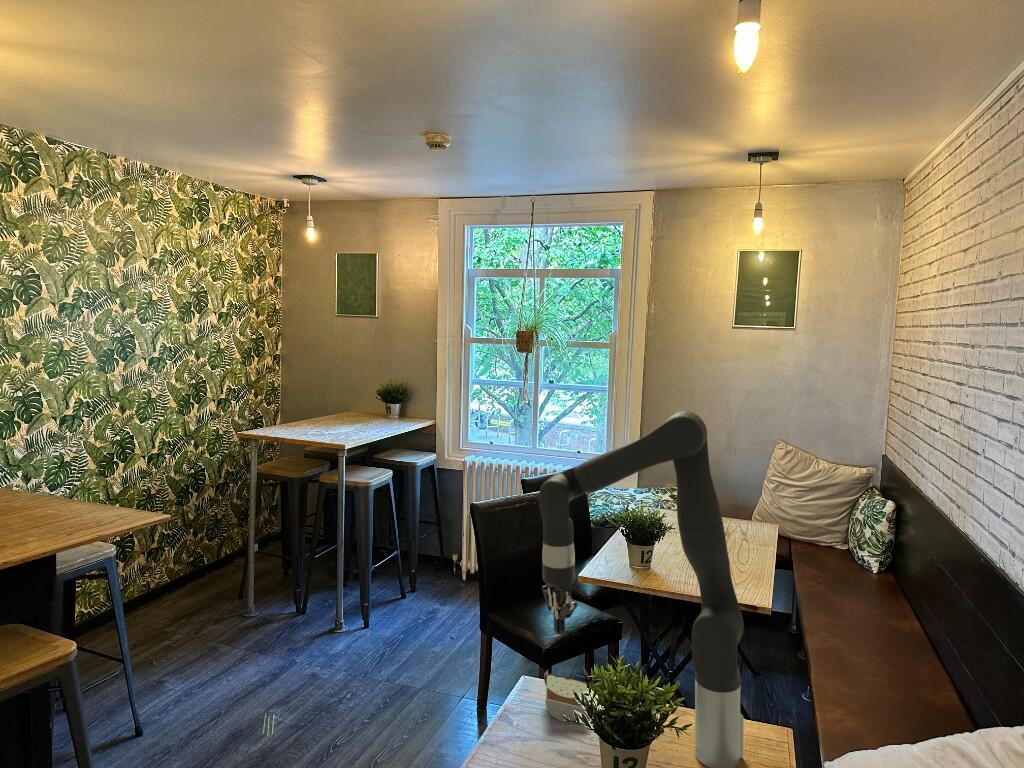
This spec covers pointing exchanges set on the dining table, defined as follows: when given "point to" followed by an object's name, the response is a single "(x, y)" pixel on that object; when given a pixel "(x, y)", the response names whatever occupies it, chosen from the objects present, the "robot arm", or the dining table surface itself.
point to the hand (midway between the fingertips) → (559, 632)
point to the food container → (563, 695)
